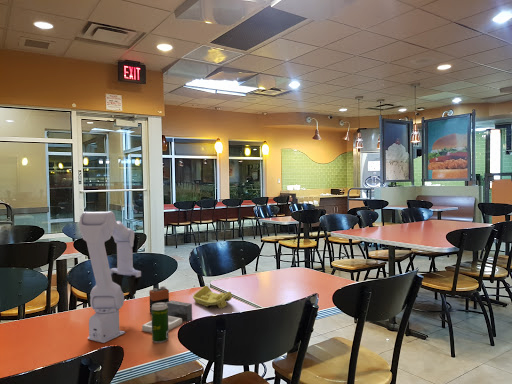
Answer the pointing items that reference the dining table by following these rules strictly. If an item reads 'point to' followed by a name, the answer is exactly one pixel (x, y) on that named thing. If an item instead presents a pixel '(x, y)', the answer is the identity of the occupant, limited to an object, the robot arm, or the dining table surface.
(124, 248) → the robot arm
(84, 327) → the dining table surface
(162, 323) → the beer can
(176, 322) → the tray
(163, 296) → the battery
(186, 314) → the block
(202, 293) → the plastic component
